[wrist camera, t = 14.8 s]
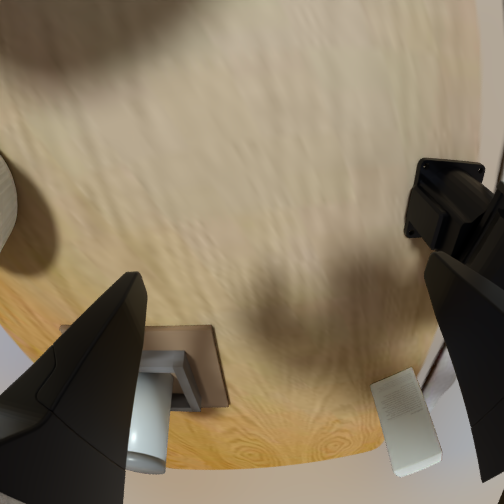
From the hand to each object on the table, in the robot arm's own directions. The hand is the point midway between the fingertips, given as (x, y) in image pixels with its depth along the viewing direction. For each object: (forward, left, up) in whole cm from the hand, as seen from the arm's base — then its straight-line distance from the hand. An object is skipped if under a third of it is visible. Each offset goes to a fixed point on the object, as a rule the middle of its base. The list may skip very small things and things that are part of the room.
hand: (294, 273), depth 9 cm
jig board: (+13, +24, -12) cm, 30 cm away
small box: (-18, +33, -12) cm, 40 cm away
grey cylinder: (+13, +24, -11) cm, 29 cm away
